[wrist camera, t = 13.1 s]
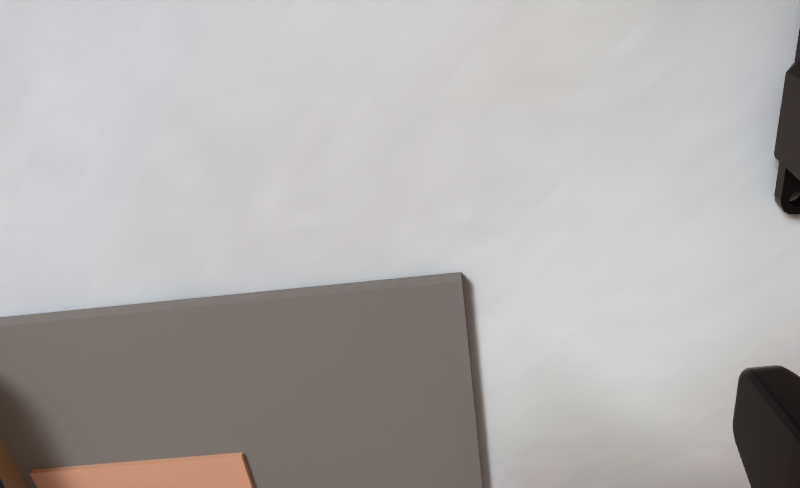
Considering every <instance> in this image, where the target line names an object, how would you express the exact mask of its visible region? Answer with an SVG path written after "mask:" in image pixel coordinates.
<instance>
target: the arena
mask: <svg viewBox="0 0 800 488" xmlns="http://www.w3.org/2000/svg"><path fill="white" fill-rule="evenodd" d="M0 478H1V479H2V481H3V483H4V485H5V488H483V487H482V477H481V467H480V457H479V447H478V437H477V427H476V417H475V407H474V397H473V387H472V377H471V367H470V357H469V347H468V337H467V327H466V317H465V307H464V297H463V287H462V277H461V272H459V273H449V274H439V275H429V276H419V277H408V278H398V279H388V280H378V281H368V282H357V283H347V284H337V285H327V286H317V287H306V288H296V289H286V290H276V291H266V292H255V293H245V294H235V295H225V296H215V297H204V298H194V299H184V300H174V301H164V302H154V303H143V304H133V305H123V306H113V307H103V308H92V309H82V310H72V311H62V312H52V313H41V314H31V315H21V316H11V317H1V318H0Z"/></svg>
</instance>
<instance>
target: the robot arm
mask: <svg viewBox="0 0 800 488" xmlns="http://www.w3.org/2000/svg"><path fill="white" fill-rule="evenodd" d="M774 156H775V158H776V159H777V160H779V161H780V162H779V168H778V175H777V182H776V188H775V201H776V203H777V204H778V205H779V206H780V207H781V208H782V210H783V211H785V212H787V213H788V214H800V196H799V197H798V198H797V199H795V200H792V201H790V200H789V199H790V197H791V196H792V195H793V194H794V193H795V192H798V191H800V30H799V36H798V43H797V50H796V56H795V63H794V64H793V65H792V66H791V67H790V68H789V70H788V71H787V72H786V76H785V83H784V89H783V96H782V103H781V110H780V117H779V124H778V130H777V137H776V144H775V151H774ZM733 433H734V438H735V442H736V445H737V448H738V451H739V454H740V457H741V459H742V462H743V465H744V468H745V471H746V474H747V477H748V479H749V482H750V485H751V488H800V377H799V376H798V375H796V374H795V373H793V372H791V371H790V370H788V369H786V368H784V367H781V366H764V367H753V368H747V369H745V370H743V371H742V372H741V374H740V376H739V380H738V387H737V395H736V402H735V409H734V417H733ZM0 488H5V485H4V483H3V481H2V479H1V478H0Z"/></svg>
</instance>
